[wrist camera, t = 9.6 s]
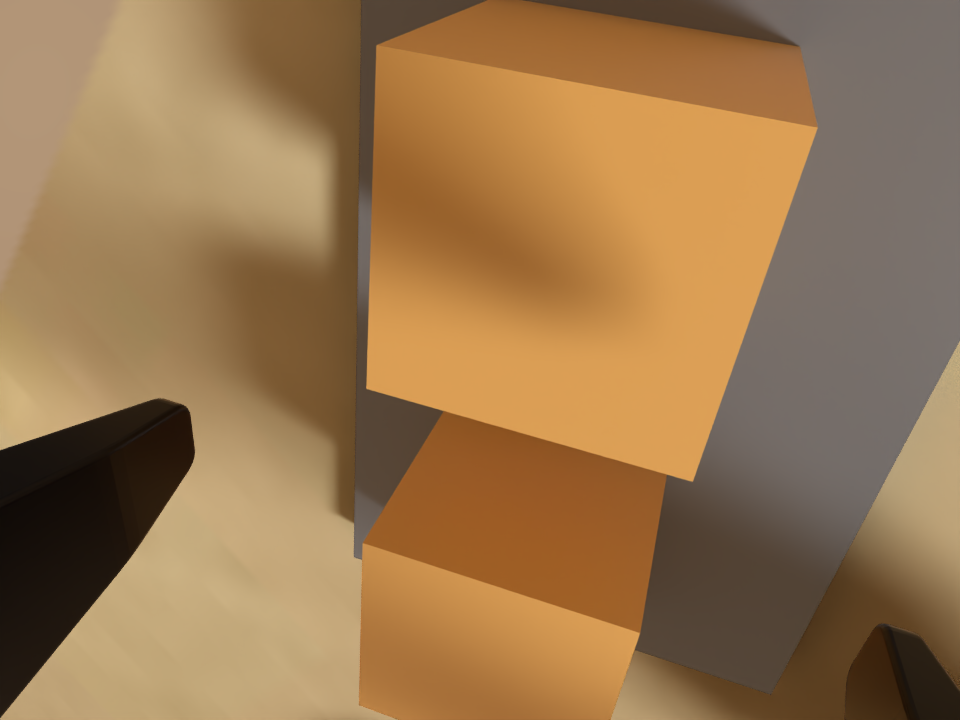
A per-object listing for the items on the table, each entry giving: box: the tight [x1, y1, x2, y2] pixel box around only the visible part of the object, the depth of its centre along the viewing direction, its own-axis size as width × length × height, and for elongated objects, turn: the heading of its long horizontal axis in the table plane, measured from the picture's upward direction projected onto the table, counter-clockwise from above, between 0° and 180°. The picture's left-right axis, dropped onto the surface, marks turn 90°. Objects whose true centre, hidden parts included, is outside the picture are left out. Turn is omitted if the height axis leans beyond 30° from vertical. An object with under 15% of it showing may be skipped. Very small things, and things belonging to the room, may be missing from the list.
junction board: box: [354, 0, 960, 720], centre depth 17 cm, size 14×20×7 cm
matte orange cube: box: [366, 0, 818, 482], centre depth 14 cm, size 6×6×6 cm
